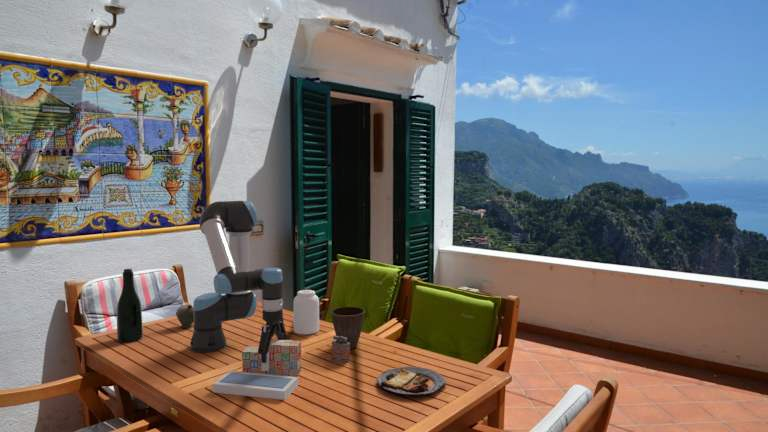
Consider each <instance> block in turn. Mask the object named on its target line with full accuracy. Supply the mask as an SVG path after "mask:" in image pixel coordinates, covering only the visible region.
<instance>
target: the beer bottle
mask: <svg viewBox="0 0 768 432" xmlns="http://www.w3.org/2000/svg"><path fill="white" fill-rule="evenodd" d="M134 284H135V283H134V271H133V269H132V268H125V269H123V272H122V289H121V293H120V296H119V299H118V302H117V306H116V337H117V341H118V342H121V343H132V342H137V341H139V340H142V338H143V337H144V333H143V312H142V303H141V299H140V298H139V296H138V293H137V291H136V288H135V285H134Z"/></svg>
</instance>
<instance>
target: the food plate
mask: <svg viewBox="0 0 768 432" xmlns="http://www.w3.org/2000/svg"><path fill="white" fill-rule="evenodd" d="M428 381H430V382H432V383H431V384H430V383H428ZM376 383H377V384H378V387H380V388H382V389H383V390H385V391H388V392H391V393H395V394H397V395H405V396H409V395H410V396H411V395H412V396H423V395H424V396H426V395H427V394H432V393H435V392H436V391H438V390H439V389H441V387H443V385H445V384H446V383H447V379H446V378H445V377H444V376H443V375H442V374H440V373H439V372H437V371H435V370H432V369H429V368H425V367H420V366H398V367H394V368H391V369H387V370H385V371H384V372H383V373H381V374H380V375H378V376H377V378H376ZM427 383H428V384H427Z"/></svg>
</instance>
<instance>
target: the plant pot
mask: <svg viewBox="0 0 768 432" xmlns="http://www.w3.org/2000/svg"><path fill="white" fill-rule="evenodd" d="M330 314H331V320H332V326H333V329H334V333H335V336H339V337H341V336H343V337H345V338H347V342H349V343H350V349H354V348H356V347H357V346H358V343H359V340H360V337H361V334H362V331H363V324H364V321H365V320H364V319H365V309H364V308H362V307H359V306H358V307H356V306H341V307H340V306H339V307H336V308H334V309H332V310H331V311H330ZM338 341H339V340H338Z"/></svg>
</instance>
